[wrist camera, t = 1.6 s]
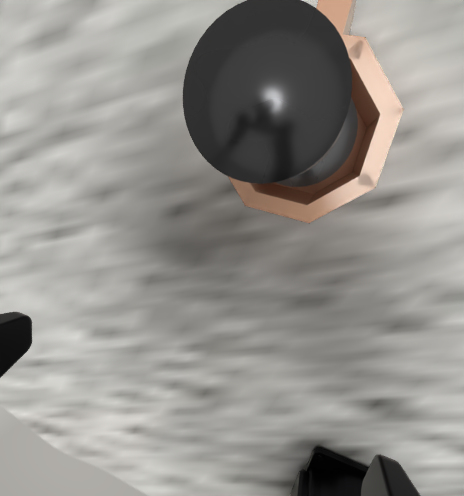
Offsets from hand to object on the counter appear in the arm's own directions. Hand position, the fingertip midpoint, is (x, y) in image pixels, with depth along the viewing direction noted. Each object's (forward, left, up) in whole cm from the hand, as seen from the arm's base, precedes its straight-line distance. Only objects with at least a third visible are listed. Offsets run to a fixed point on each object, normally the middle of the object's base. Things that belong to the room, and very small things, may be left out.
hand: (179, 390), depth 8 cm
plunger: (0, -7, -8) cm, 11 cm away
